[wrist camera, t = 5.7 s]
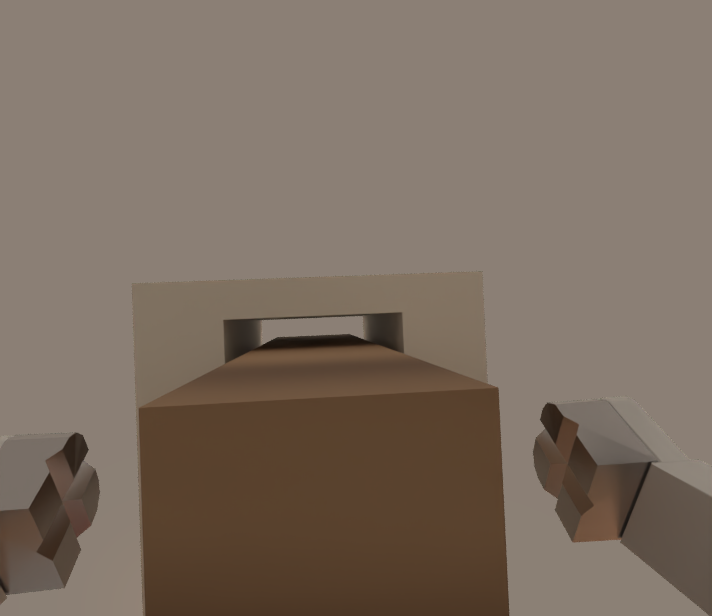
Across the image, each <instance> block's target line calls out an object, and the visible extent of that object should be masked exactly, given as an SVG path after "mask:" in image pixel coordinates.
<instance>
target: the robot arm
mask: <svg viewBox="0 0 712 616" xmlns="http://www.w3.org/2000/svg"><path fill="white" fill-rule="evenodd" d="M540 420H541V422H542V423H543V425H544V427H545V428H546V429H545V430H544V431H543V432H542V433H541V434H539V435H538V436H537V437H536V440H535V445H534V450H533V455H534V464H535V469H536V472H537V476H538V478H539V480H540V482H541V484H542V486H543V488H544V490H546V491H547V492H549V493H550V494H551V495H553V496H555V497H556V498H557V499H558V500H557V504H556V508H555V511H556V512H557V514H558V516H559V518H560V520H561V522H562V524H563V526H564V527H565V529H566V531H567V533H568V535H569V537H570V538H571V540H572V542H589V541H605V540H621V543H622V544H623V545H624V546H626V547H627V548H628V549H629V550H631V551H632V552H633V553H634V554H635V555H637V556H638V557H639V558H640V559H642V560H643V561H644V562H645V563H646V564H648V565H649V566H650V567H651V568H652V569H654V570H655V571H656V572H657V573H658V574H660V575H661V576H662V577H663V578H664V579H666V580H667V581H668V582H669V583H671V584H672V585H673V586H674V587H676V588H677V589H678V590H679V591H680V592H682V593H683V594H684V595H685V596H687V597H688V598H689V599H690V600H691V601H693V602H694V603H695V604H697V606H699V607H700V608H701V609H702V610H703V611H705V612H706V613H707V614H708V615H710V616H712V466H710V465H709V464H707V463H705V462H703V461H701V460H698V459H697V460H689V459H688V457H687V456H686V455H685V454H684V453H683V452H682V451H681V450H680V449H679V448H678V447H677V445H676V444H675V443H674V442H673V441H672V440H671V439H670V438H669V437H668V436H667V434H666V433H665V432H664V431H663V430H662V429H661V428H660V427H659V426H658V425H657V424H656V423H655V421H654V420H653V419H652V418H651V417H650V416H649V415H648V414H647V413H646V412H645V410H644V409H643V408H642V407H641V406H640V405H639V404H638V403H637V402H636V401H635V400H634V399H632V398H630V397H628V396H623V397H610V398H601V399H592V400H577V401H563V402H549V403H547V404H546V405H545V407H544V408H543V410H542V414H541V419H540ZM87 452H88V447H87V444H86V442H85V440H84V437H83V435H81V434H79V433H54V434H53V433H51V434H28V435H14V436H0V604H1V603H3V601H5V599H6V598H7V596H6V595H10V594H18V593H27V592H36V591H44V590H52V589H61V588H65V586H66V584H67V581H68V579H69V577H70V574H71V572H72V570H73V567H74V565H75V562H76V560H77V558H78V555H79V553H80V551H81V548H80V546H79V543H78V541H77V537H78V536H79V535H80V534H81V533H83V532H84V531H85V530H86V529H87V528H88V527H90V526H91V524H92V522H93V519H94V516H95V514H96V512H97V507H98V500H99V494H100V490H99V480H98V476H97V473H96V470H95V469H94V468H93V467H92V466H90V465H89V464H88V463H86V462H85V461H83V460H84V458H85V456H86V454H87Z"/></svg>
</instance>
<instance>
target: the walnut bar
mask: <svg viewBox="0 0 712 616" xmlns="http://www.w3.org/2000/svg"><path fill="white" fill-rule="evenodd" d="M498 391H499V390H498V387H495V386H492V385H489V384H487V383H484V382H481V381H478V380H475V379H473V378H470V377H467V376H464V375H462V374H459V373H456V372H453V371H450V370H448V369H445V368H442V367H439V366H436V365H434V364H431V363H428V362H425V361H423V360H420V359H417V358H414V357H411V356H409V355H406V354H403V353H400V352H397V351H395V350H392V349H389V348H386V347H384V346H381V345H378V344H375V343H372V342H370V341H367V340H364V339H361V338H358V337H356V336H353V335H350V334H342V335H321V336H298V337H277V338H275V339H273V340H271V341H269V342H267V343H265V344H263V345H261V346H259V347H257V348H255V349H253V350H251V351H249V352H247V353H246V354H244V355H242V356H240V357H238V358H236V359H234V360H232V361H230V362H228V363H226V364H224V365H222V366H220V367H218V368H216V369H214V370H212V371H210V372H208V373H206V374H204V375H202V376H200V377H198V378H196V379H194V380H192V381H191V382H189V383H187V384H185V385H183V386H181V387H179V388H177V389H175V390H173V391H171V392H169V393H167V394H165V395H163V396H161V397H159V398H157V399H155V400H153V401H151V402H149V403H147V404H145V405H143V406H141V407H139V438H140V468H141V498H142V528H143V558H144V589H145V616H509V599H508V580H507V579H508V578H507V557H506V539H505V538H506V537H505V516H504V495H503V474H502V453H501V434H500V433H501V432H500V411H499V392H498Z"/></svg>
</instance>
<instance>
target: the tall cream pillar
mask: <svg viewBox="0 0 712 616" xmlns="http://www.w3.org/2000/svg"><path fill="white" fill-rule="evenodd" d="M132 301H133V330H134V360H135V389H136V390H135V391H136V420H137V451H138V482H139V512H140V542H141V573H142V601H143V616H145V589H144V558H143V528H142V498H141V468H140V438H139V407H141V406H143V405H145V404H147V403H149V402H151V401H153V400H155V399H157V398H159V397H161V396H163V395H165V394H167V393H169V392H171V391H173V390H175V389H177V388H179V387H181V386H183V385H185V384H187V383H189V382H191V381H192V380H194V379H196V378H198V377H200V376H202V375H204V374H206V373H208V372H210V371H212V370H214V369H216V368H218V367H220V366H222V365H224V364H226V363H228V362H230V361H232V360H234V359H236V358H238V357H240V356H242V355H244V354H246V353H247V352H249V351H251V350H253V349H255V348H257V347H259V346H261V345H262V320H274V319H298V318H321V317H345V316H363V329H364V340H367V341H370V342H372V343H375V344H378V345H381V346H384V347H386V348H389V349H392V350H395V351H397V352H400V353H403V354H406V355H409V356H411V357H414V358H417V359H420V360H423V361H425V362H428V363H431V364H434V365H436V366H439V367H442V368H445V369H448V370H450V371H453V372H456V373H459V374H462V375H464V376H467V377H470V378H473V379H475V380H478V381H481V382H484V383H487V384H488V381H487V361H486V360H487V359H486V339H485V318H484V297H483V275H482V272H481V271H478V272H449V273H420V274H392V275H362V276H335V277H334V276H333V277H305V278H276V279H249V280H248V279H247V280H218V281H189V282H160V283H132Z"/></svg>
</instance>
